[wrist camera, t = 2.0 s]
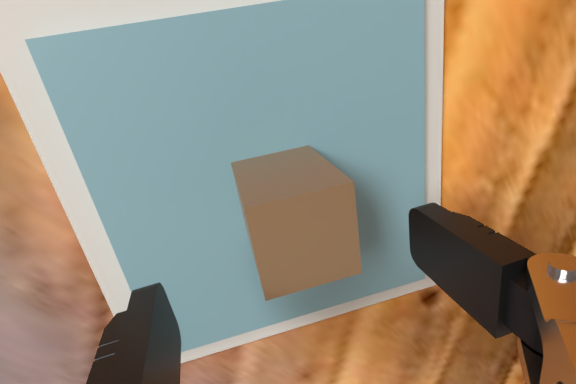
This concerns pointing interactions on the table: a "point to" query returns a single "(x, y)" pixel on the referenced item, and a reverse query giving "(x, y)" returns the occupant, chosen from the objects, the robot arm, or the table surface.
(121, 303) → the mat
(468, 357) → the table surface
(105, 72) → the cover sheet
